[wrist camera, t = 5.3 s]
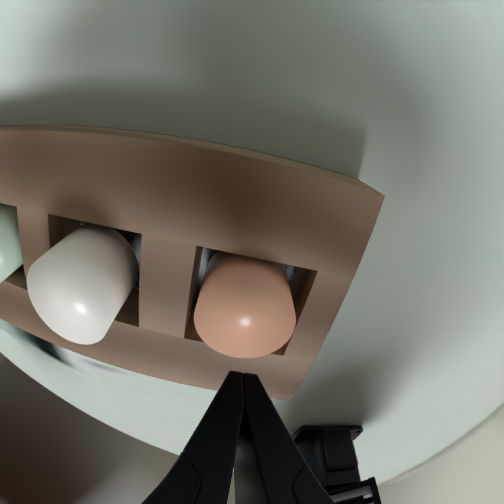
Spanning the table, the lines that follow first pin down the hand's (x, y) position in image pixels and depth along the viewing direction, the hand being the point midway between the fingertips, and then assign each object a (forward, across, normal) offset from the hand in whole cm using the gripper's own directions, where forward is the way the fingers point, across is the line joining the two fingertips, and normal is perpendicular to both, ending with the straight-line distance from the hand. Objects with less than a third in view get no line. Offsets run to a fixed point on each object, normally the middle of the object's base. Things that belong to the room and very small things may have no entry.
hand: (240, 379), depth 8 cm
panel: (+7, +7, 0) cm, 10 cm away
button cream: (+5, +7, 0) cm, 9 cm away
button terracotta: (+7, 0, 0) cm, 7 cm away
